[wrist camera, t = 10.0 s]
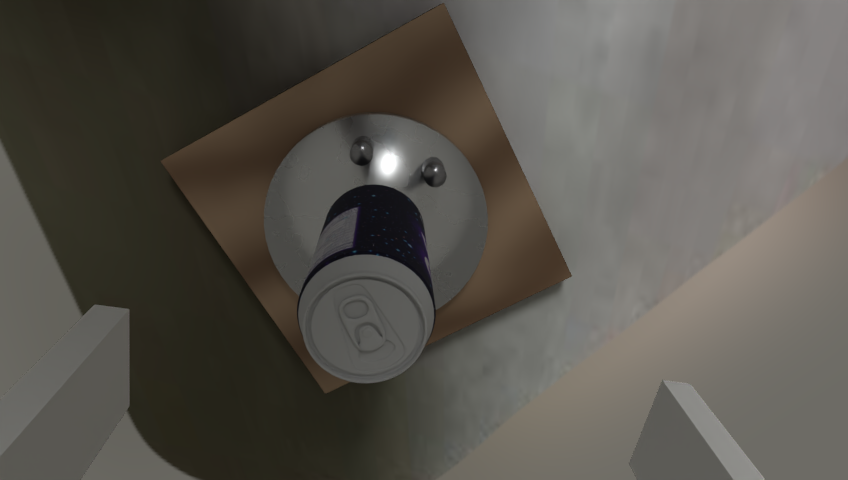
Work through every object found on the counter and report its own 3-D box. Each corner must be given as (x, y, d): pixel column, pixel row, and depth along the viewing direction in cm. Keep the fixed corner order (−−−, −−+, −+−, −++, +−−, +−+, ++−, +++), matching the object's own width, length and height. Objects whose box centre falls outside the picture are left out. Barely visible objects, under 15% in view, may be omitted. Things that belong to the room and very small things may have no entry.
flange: (223, 178, 33) (207, 193, 31) (423, 69, 32) (426, 74, 29) (338, 349, 38) (334, 376, 35) (519, 261, 36) (530, 282, 33)
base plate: (170, 155, 34) (160, 161, 33) (441, 3, 32) (443, 2, 31) (327, 380, 40) (325, 393, 39) (565, 266, 38) (572, 276, 37)
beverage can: (349, 284, 35) (327, 409, 24) (309, 200, 33) (266, 294, 22) (437, 252, 35) (457, 365, 23) (403, 165, 33) (407, 243, 21)
